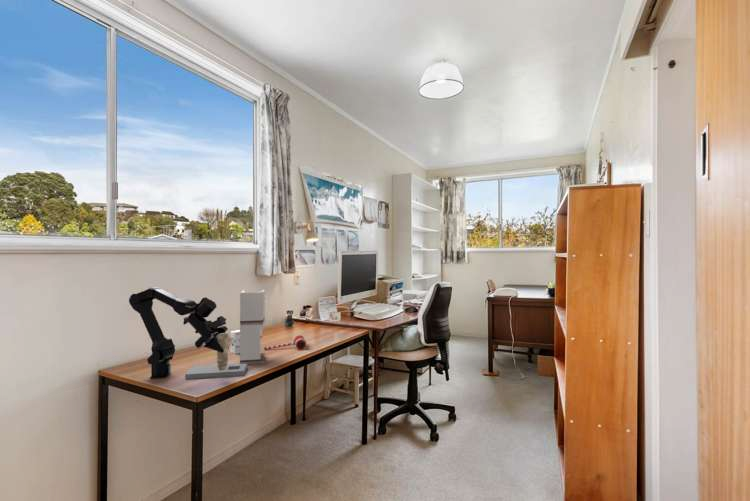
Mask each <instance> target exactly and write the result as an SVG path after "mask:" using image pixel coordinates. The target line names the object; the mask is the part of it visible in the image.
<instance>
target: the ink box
mask: <svg viewBox="0 0 750 501" xmlns="http://www.w3.org/2000/svg"><path fill="white" fill-rule="evenodd" d="M230 353H231V354H233V355H238V354H240V329H237V330H231V331H230Z"/></svg>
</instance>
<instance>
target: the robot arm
mask: <svg viewBox="0 0 750 501" xmlns="http://www.w3.org/2000/svg"><path fill="white" fill-rule="evenodd" d="M153 300H157V301H159V302H161V303H163V304H165V305H167V306H169V307H171V308H172V309H173V311H174V312H175V313H176V314H178V315H179V316H185V317H183V323H182V324H183V325H184V326H185V325H186V324H190V325H191V327H192V328H193V329H194V330H195V331H194V333H195V334H199V335H200V337H198V339H197V340H196V341H194V346H195V347H196V348H197V349H201V348H202V347H203V348H207V349H210V350H213V351H215V352H217V351H218V352H221V353H223V352H224V350H223V348H222V347H221V346H220V344H219V343H218V342H217V335H218V334H221V333H226V332H227V331H228V330H229V328H228V327H227V326H226V324H227V322H226V321H227V318H225V317H224V316H223V315H219V316H218V317H217V318H216V320H214V321H213V320H207V319H206V318H208V317H210V315H211V314H212V313H213V312H214V310H215V309H217V303H216V302H215V301H213V300H212V299H209V298H208V297H205V296H204V297H202V298H201V300H200V301H199V302H198V303H197V302H196V301H195V300H192V299H189V298H183V297H179V296H177V295H174V294H172V293H170V292H168V291H167V290H164V289H162V288H161V287H159V286H155V287H149V288H148V289H145V290H142V291H140V292H138V293H137V292H135V293H132V294H131V295H130V296H129V298H128V303H129V305H130V306H131V308H132V309H133V310H134V311H135V312H136V313H138V314H139V315H140V318H141V319H142V322H143V325H144V326H145V328H146V331H147V334H148V336H149V339H150V340H151V342H152V343H151V344H152V345H151V349H150V350H151V355H149V357H148V358H147V359H146V360H147V363H148V365H151V366H150V367H151V369H150V372H151V373H150V374H151V376H149V378H150V379H159V378H161V379H163V378H167V377H168V376H169V375H170V374H171V373H172V372H171V371H172V370H171V369H172V367H171V366H172V365H171V363H170V361H171V360H173V357H174V355H175V353H176V348H175V347H176V345H175V344H174V342H173V339H172V338H169V339H168V338H167V337H165V335H164V333H163V331H162V328H161V326H160V324H159V322H158V320H157V317H156V315H155V313H154V310H153V305H154V302H153ZM187 315H188V316H187ZM203 344H205V345H203ZM229 349H230V347H229V346H228V350H229Z"/></svg>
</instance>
